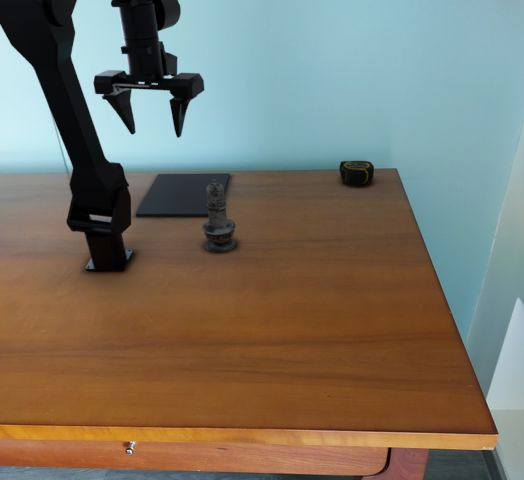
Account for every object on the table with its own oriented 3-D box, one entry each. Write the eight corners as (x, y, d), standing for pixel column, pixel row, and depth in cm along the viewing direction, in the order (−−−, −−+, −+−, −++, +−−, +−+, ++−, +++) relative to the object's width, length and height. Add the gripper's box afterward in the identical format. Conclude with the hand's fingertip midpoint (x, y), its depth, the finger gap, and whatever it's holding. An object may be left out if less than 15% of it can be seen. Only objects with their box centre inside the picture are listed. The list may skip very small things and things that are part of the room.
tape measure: (370, 175, 113) (372, 157, 111) (374, 188, 108) (376, 170, 106) (338, 175, 114) (339, 158, 111) (340, 188, 109) (342, 170, 106)
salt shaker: (239, 236, 94) (234, 170, 86) (234, 253, 90) (229, 185, 82) (206, 236, 95) (199, 170, 87) (200, 252, 90) (192, 185, 82)
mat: (217, 216, 101) (217, 213, 100) (135, 216, 102) (135, 213, 101) (229, 175, 116) (229, 173, 116) (158, 176, 117) (158, 173, 117)
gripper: (211, 29, 90) (219, 125, 100) (115, 28, 94) (131, 119, 104) (185, 41, 82) (196, 144, 91) (81, 39, 86) (102, 137, 96)
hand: (156, 135), depth 96 cm, fingers open, 9 cm apart
